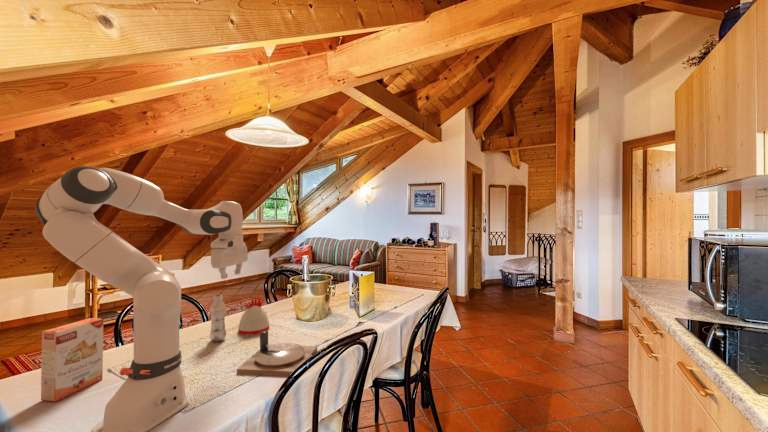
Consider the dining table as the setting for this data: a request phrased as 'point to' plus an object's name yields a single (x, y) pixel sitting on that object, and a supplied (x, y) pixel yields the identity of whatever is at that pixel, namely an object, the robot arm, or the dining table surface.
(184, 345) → the dining table surface
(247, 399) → the dining table surface
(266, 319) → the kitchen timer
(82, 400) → the dining table surface
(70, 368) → the cracker box
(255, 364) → the dial base
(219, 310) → the plastic bottle
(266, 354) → the dial
